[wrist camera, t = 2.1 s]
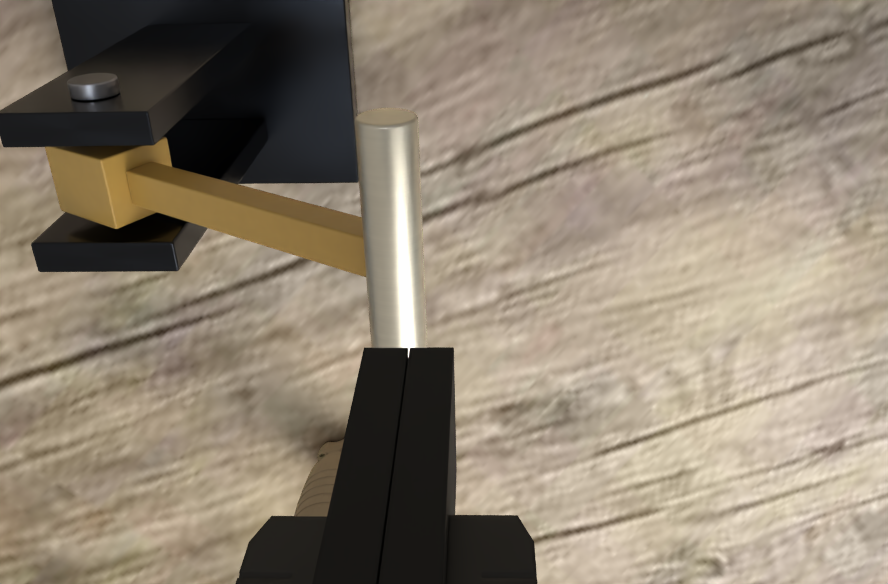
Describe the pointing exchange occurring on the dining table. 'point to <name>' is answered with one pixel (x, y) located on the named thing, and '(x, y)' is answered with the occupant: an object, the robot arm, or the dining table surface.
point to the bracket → (192, 107)
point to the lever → (281, 212)
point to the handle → (320, 482)
